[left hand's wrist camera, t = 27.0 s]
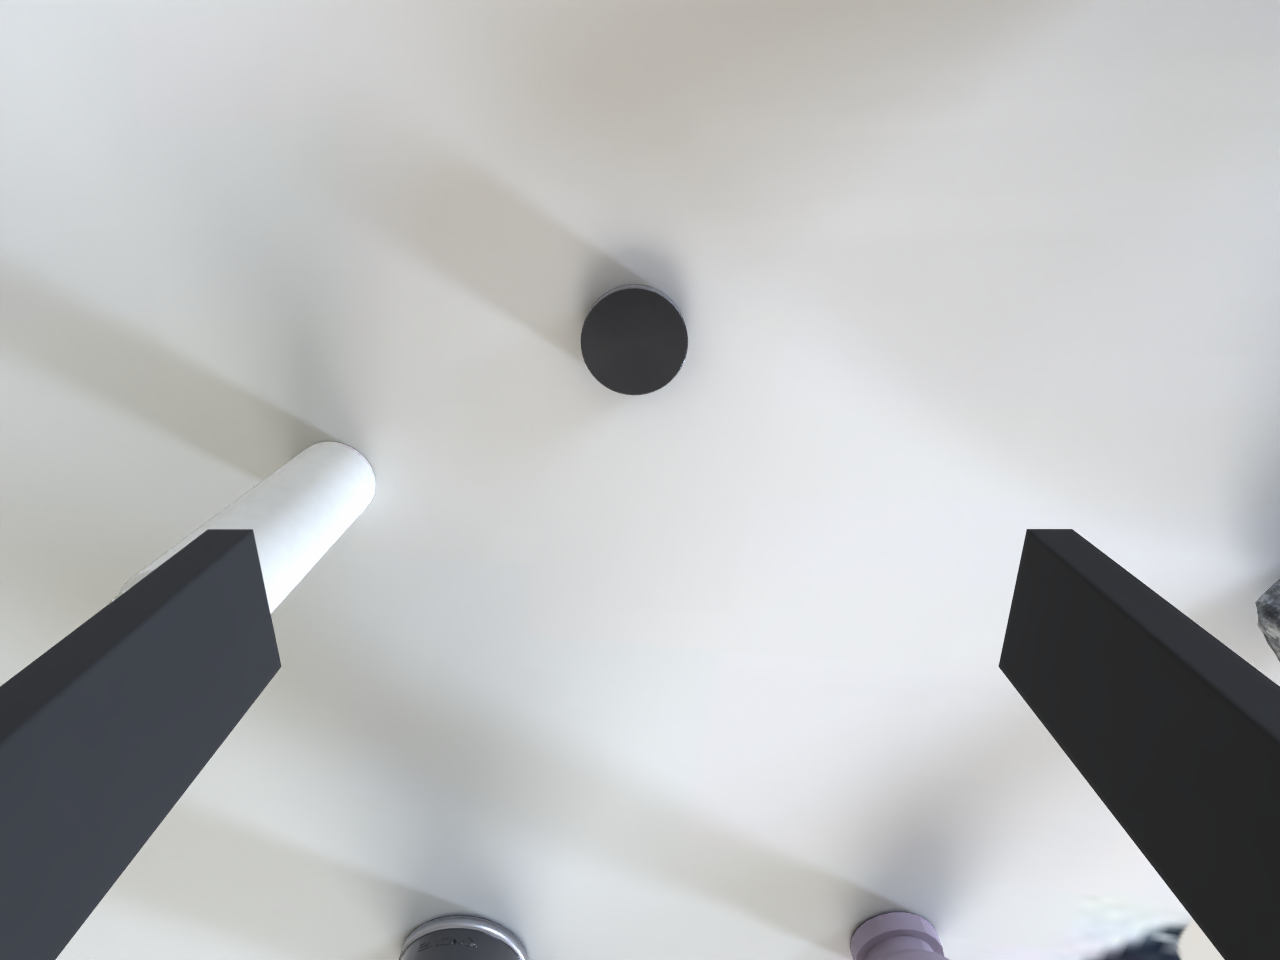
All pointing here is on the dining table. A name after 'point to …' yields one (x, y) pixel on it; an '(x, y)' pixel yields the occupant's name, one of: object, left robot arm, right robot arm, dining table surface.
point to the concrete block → (1270, 617)
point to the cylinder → (293, 514)
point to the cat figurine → (896, 939)
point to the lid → (634, 340)
